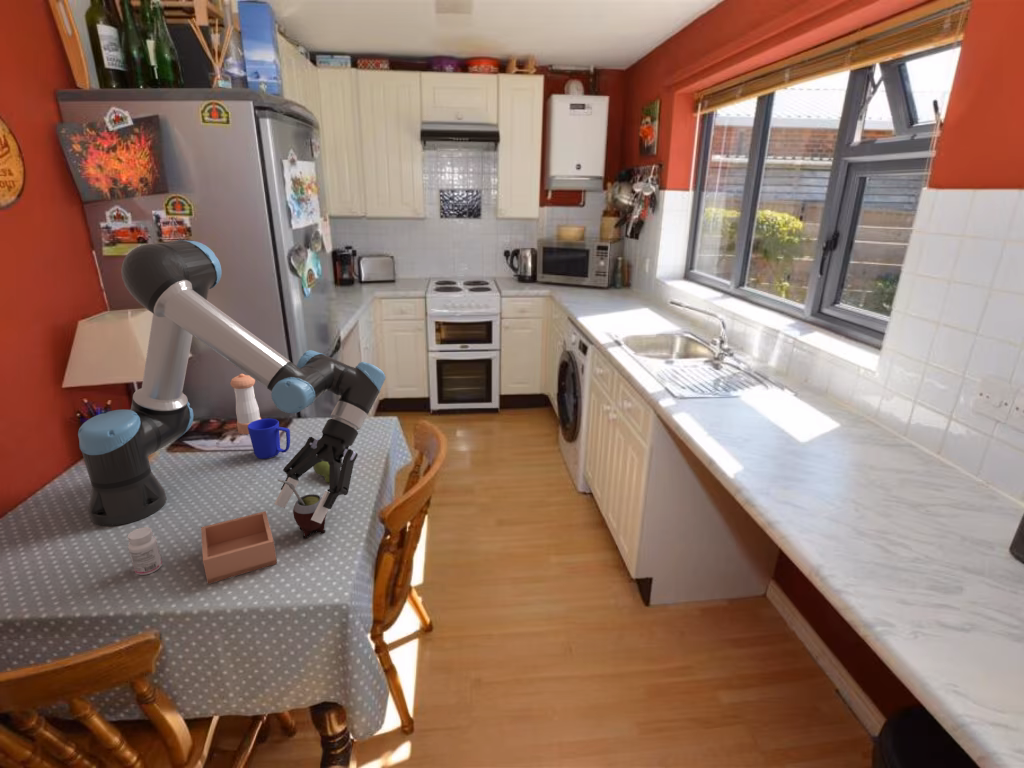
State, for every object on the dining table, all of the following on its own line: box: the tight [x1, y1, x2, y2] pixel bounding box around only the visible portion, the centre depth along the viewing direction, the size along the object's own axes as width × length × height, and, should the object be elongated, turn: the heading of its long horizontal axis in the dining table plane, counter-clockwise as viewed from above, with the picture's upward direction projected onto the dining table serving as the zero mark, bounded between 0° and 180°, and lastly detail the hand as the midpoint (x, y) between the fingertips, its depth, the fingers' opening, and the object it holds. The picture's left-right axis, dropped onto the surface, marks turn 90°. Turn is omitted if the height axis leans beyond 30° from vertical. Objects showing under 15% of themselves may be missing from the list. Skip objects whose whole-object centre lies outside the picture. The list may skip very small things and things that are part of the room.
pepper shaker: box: [229, 373, 262, 435], centre depth 168 cm, size 7×7×19 cm
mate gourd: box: [277, 478, 328, 540], centre depth 118 cm, size 8×8×15 cm
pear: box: [312, 461, 329, 484], centre depth 143 cm, size 6×5×10 cm
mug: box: [248, 418, 291, 460], centre depth 153 cm, size 8×12×10 cm
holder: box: [200, 510, 278, 585], centre depth 111 cm, size 13×13×6 cm
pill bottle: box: [127, 526, 163, 576], centre depth 106 cm, size 5×5×8 cm
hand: (297, 513), depth 116 cm, fingers open, 11 cm apart
